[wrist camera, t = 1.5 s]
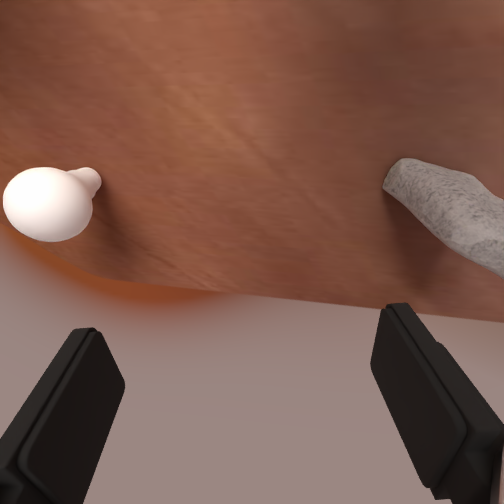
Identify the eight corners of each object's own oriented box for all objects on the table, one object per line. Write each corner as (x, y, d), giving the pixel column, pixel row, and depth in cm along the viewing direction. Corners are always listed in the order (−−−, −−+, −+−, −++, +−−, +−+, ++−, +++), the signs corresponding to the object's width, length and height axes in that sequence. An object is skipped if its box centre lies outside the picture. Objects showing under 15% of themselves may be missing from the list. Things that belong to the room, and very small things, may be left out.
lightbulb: (62, 195, 32) (-11, 245, 23) (60, 139, 29) (-26, 170, 20) (120, 209, 33) (72, 262, 24) (123, 156, 30) (71, 193, 21)
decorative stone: (369, 194, 33) (451, 269, 20) (402, 143, 30) (519, 191, 18) (444, 225, 36) (560, 308, 23) (481, 179, 33) (635, 246, 20)
